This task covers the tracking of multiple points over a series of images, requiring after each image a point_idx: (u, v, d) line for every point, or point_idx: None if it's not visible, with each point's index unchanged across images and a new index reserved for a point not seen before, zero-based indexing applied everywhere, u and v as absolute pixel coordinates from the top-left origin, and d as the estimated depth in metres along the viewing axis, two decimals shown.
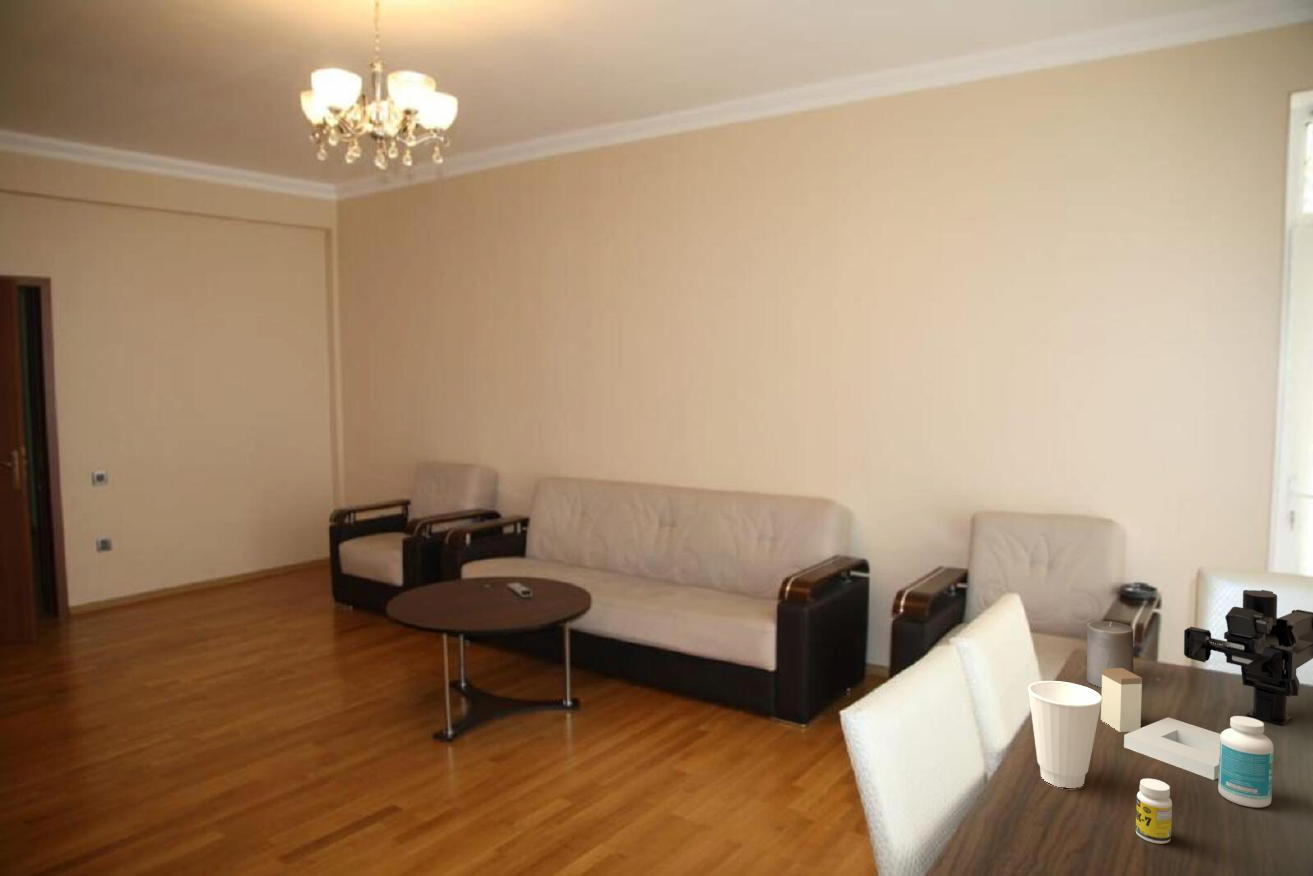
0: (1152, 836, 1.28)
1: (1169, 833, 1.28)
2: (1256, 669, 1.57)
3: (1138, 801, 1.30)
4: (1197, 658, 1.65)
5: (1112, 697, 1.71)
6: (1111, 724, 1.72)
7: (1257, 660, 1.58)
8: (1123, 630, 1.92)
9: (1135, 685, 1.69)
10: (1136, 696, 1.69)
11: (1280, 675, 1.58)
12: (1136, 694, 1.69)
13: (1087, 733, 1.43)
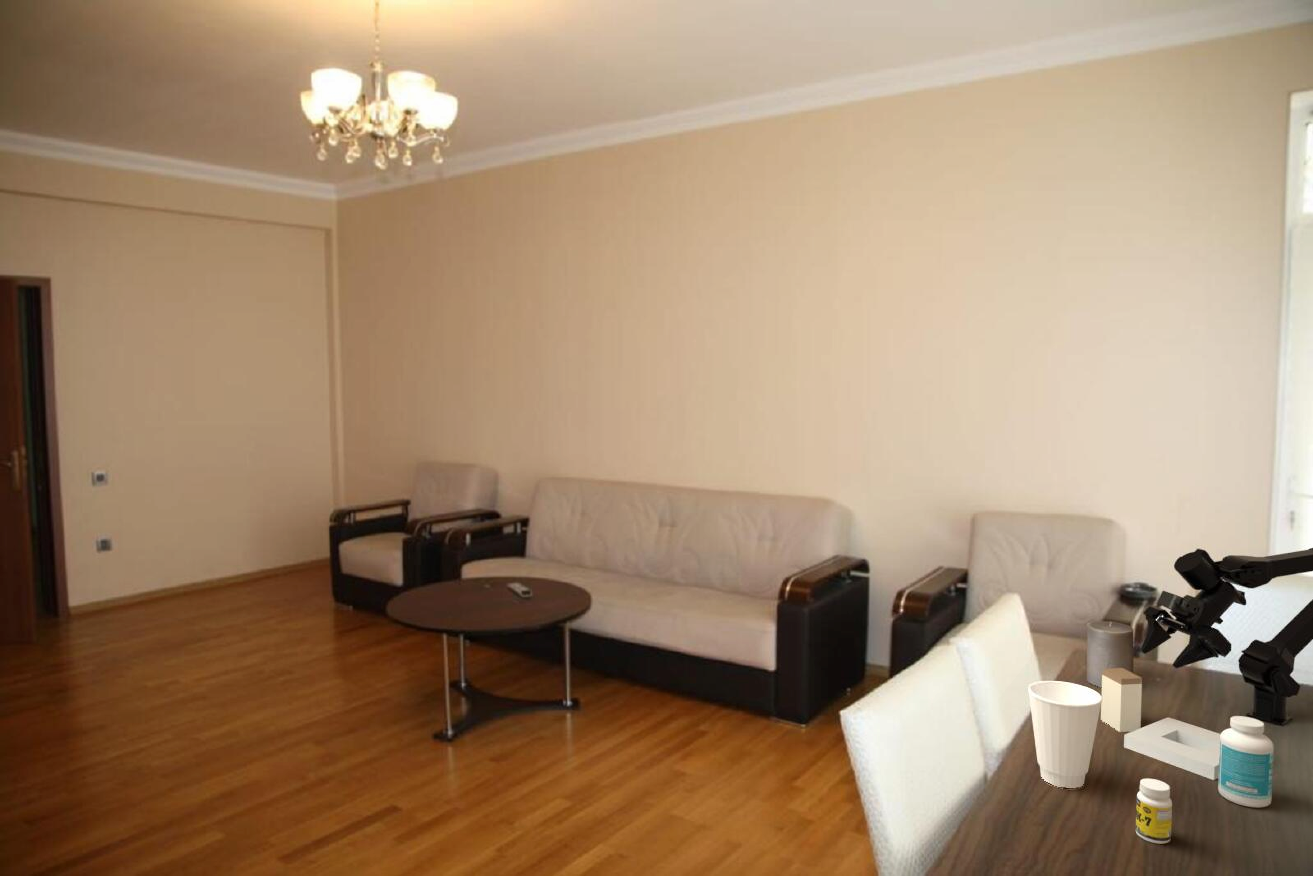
0: (1152, 836, 1.28)
1: (1169, 833, 1.28)
2: (1185, 661, 1.67)
3: (1138, 801, 1.30)
4: (1150, 649, 1.77)
5: (1112, 697, 1.71)
6: (1111, 724, 1.72)
7: (1184, 651, 1.67)
8: (1123, 630, 1.92)
9: (1135, 685, 1.69)
10: (1136, 696, 1.69)
11: (1214, 654, 1.65)
12: (1136, 694, 1.69)
13: (1087, 733, 1.43)
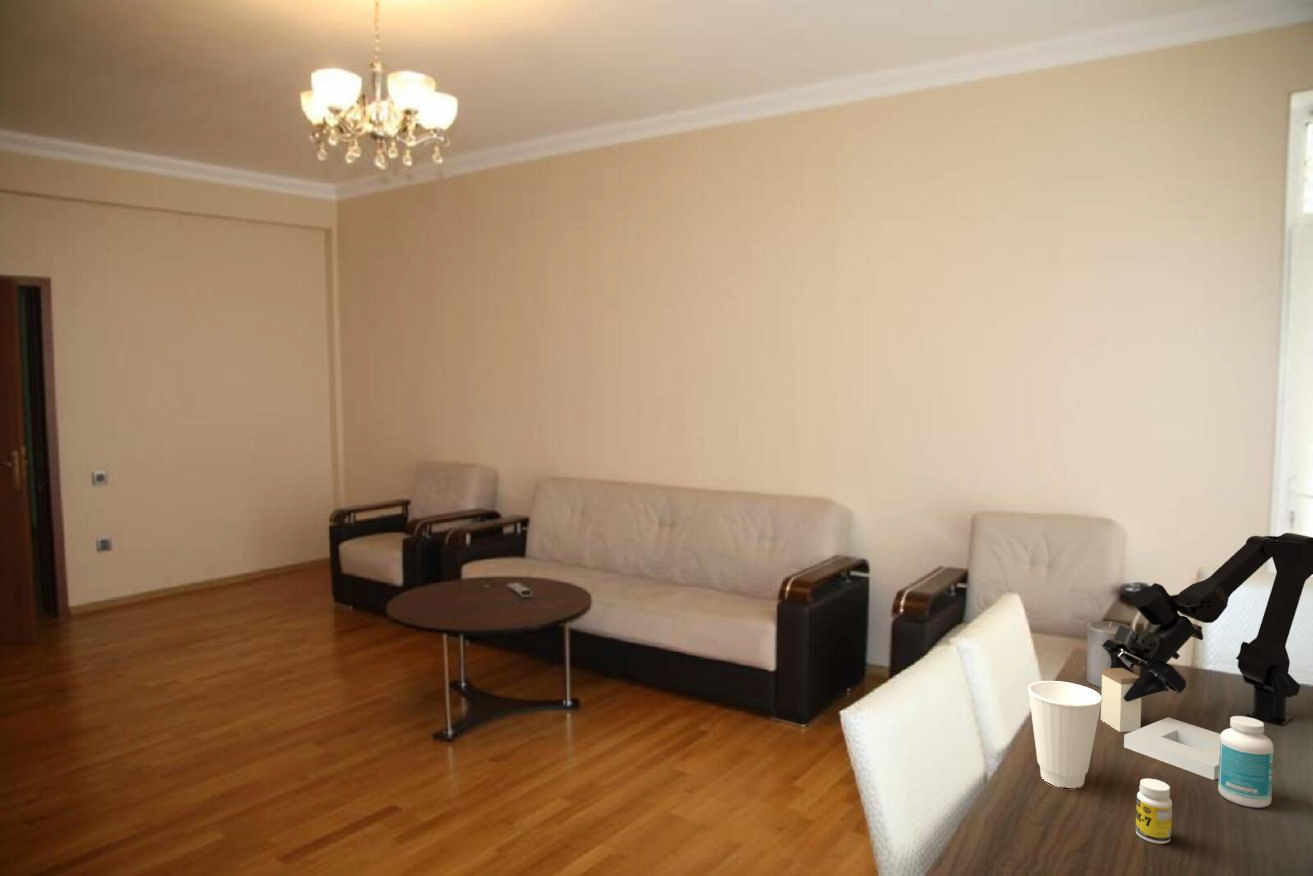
0: (1152, 836, 1.28)
1: (1169, 833, 1.28)
2: (1136, 694, 1.68)
3: (1138, 801, 1.30)
4: None
5: (1112, 697, 1.71)
6: (1111, 724, 1.72)
7: (1134, 685, 1.68)
8: None
9: None
10: None
11: (1163, 688, 1.66)
12: None
13: (1087, 733, 1.43)
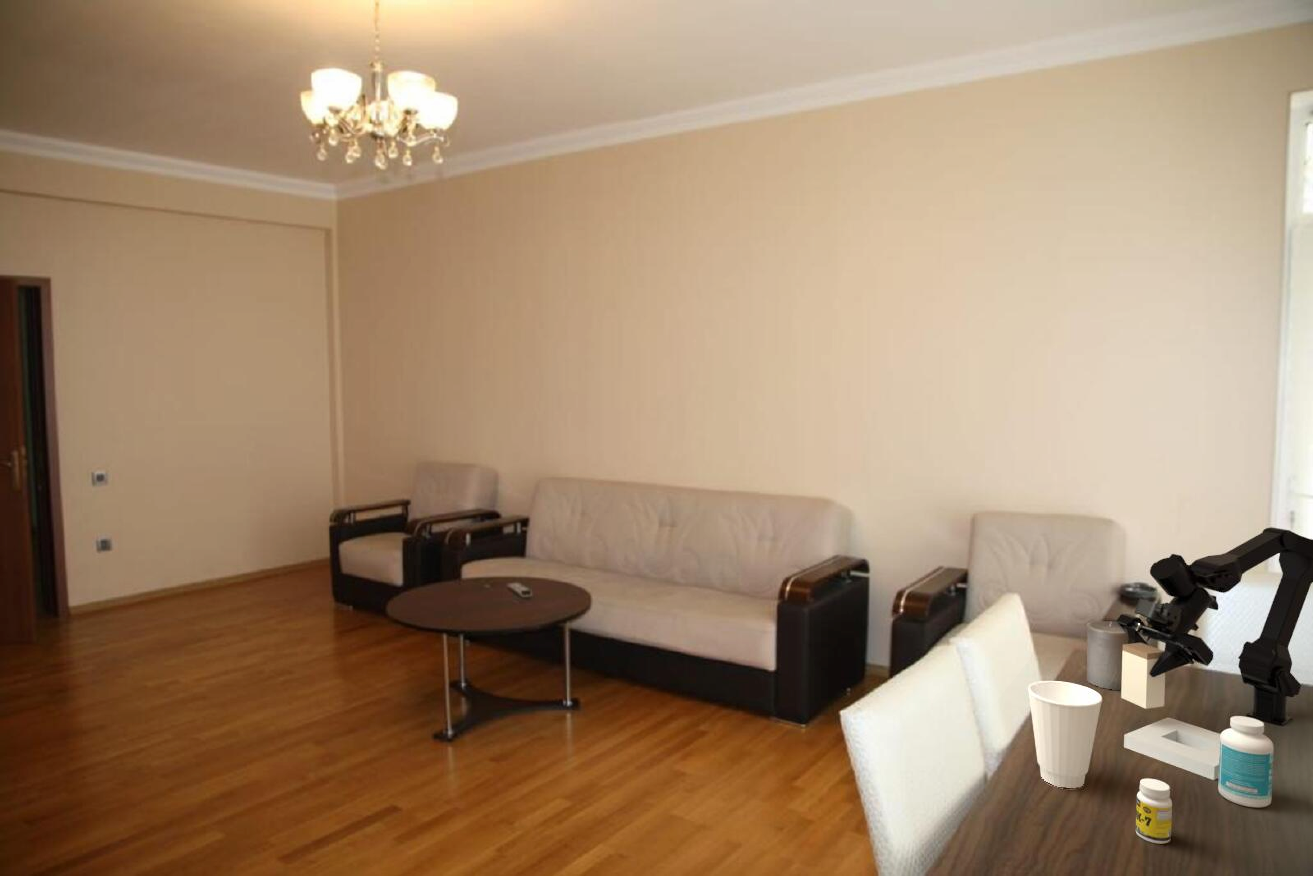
0: (1152, 836, 1.28)
1: (1169, 833, 1.28)
2: (1161, 669, 1.63)
3: (1138, 801, 1.30)
4: None
5: (1135, 673, 1.66)
6: (1135, 701, 1.66)
7: (1160, 659, 1.63)
8: None
9: None
10: None
11: (1190, 661, 1.61)
12: None
13: (1087, 733, 1.43)
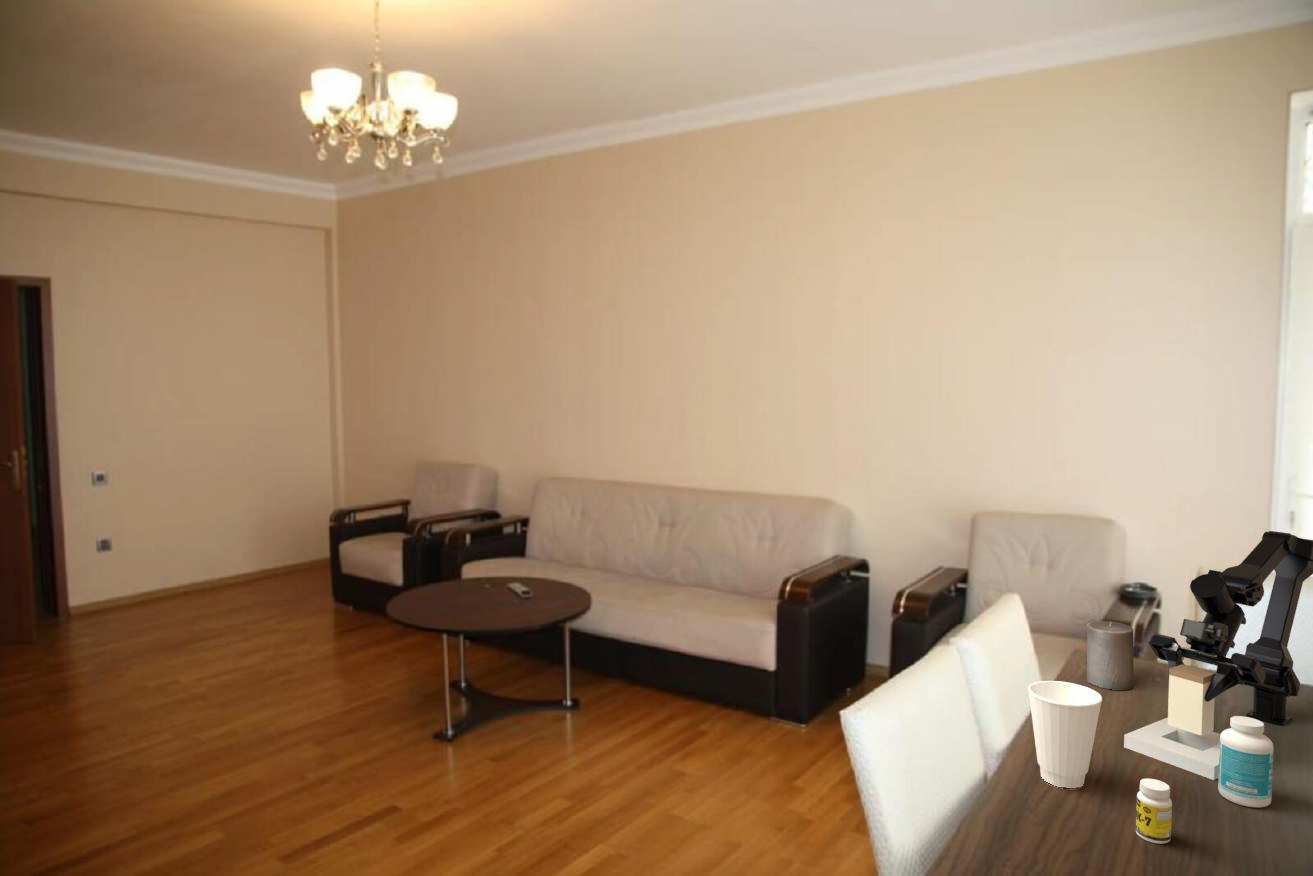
0: (1152, 836, 1.28)
1: (1169, 833, 1.28)
2: (1215, 692, 1.55)
3: (1138, 801, 1.30)
4: None
5: (1187, 699, 1.57)
6: (1186, 728, 1.57)
7: (1213, 683, 1.55)
8: (1123, 630, 1.92)
9: None
10: None
11: (1241, 682, 1.55)
12: None
13: (1087, 733, 1.43)
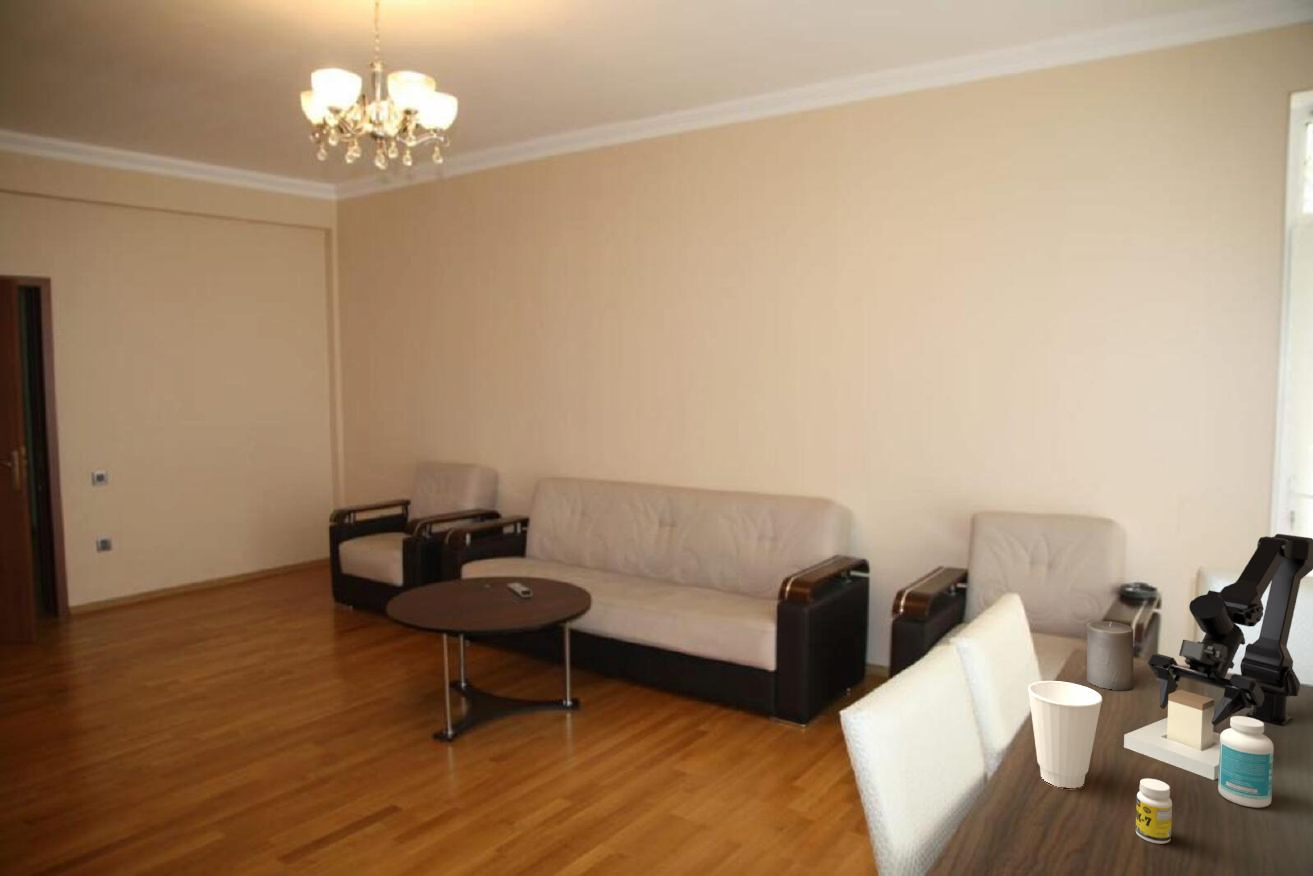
0: (1152, 836, 1.28)
1: (1169, 833, 1.28)
2: (1223, 716, 1.54)
3: (1138, 801, 1.30)
4: (1166, 703, 1.63)
5: (1186, 725, 1.57)
6: None
7: (1221, 706, 1.54)
8: (1123, 630, 1.92)
9: (1210, 708, 1.57)
10: (1210, 720, 1.57)
11: (1248, 705, 1.54)
12: (1210, 718, 1.57)
13: (1087, 733, 1.43)
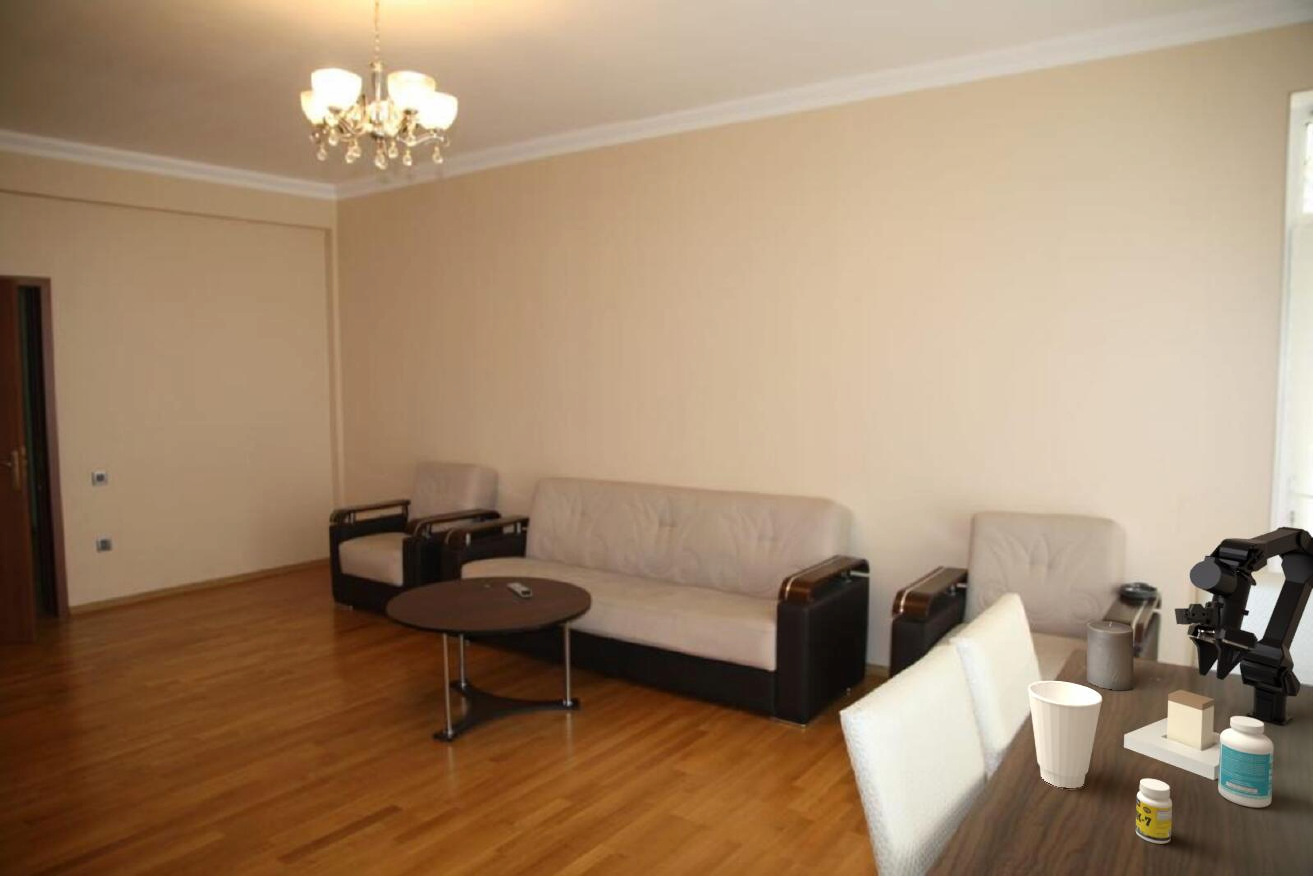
0: (1152, 836, 1.28)
1: (1169, 833, 1.28)
2: (1225, 669, 1.61)
3: (1138, 801, 1.30)
4: (1208, 668, 1.70)
5: (1186, 725, 1.57)
6: None
7: (1218, 660, 1.61)
8: (1123, 630, 1.92)
9: (1210, 708, 1.57)
10: (1210, 720, 1.57)
11: (1244, 650, 1.58)
12: (1210, 718, 1.57)
13: (1087, 733, 1.43)
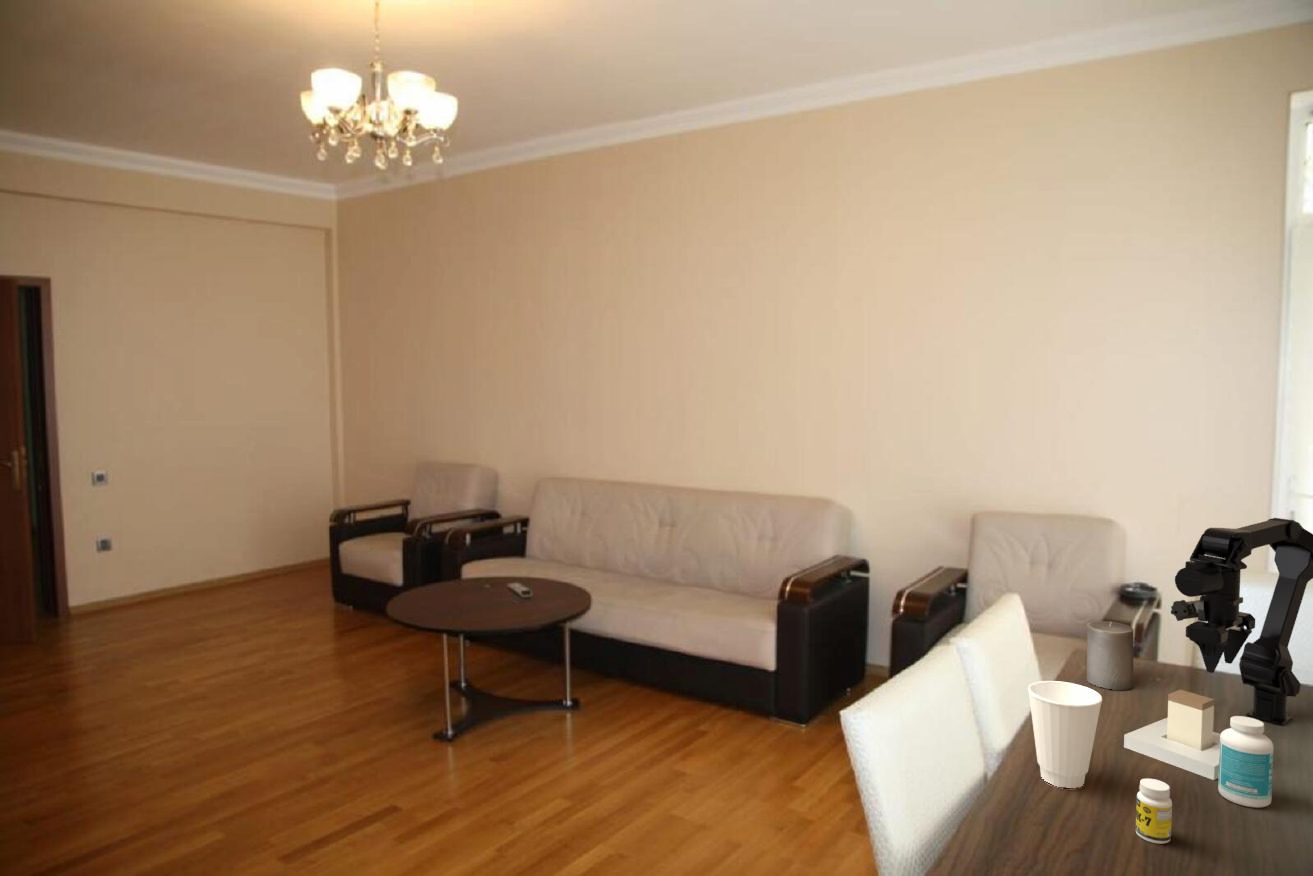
0: (1152, 836, 1.28)
1: (1169, 833, 1.28)
2: (1210, 662, 1.65)
3: (1138, 801, 1.30)
4: (1232, 656, 1.71)
5: (1186, 725, 1.57)
6: None
7: None
8: (1123, 630, 1.92)
9: (1210, 708, 1.57)
10: (1210, 720, 1.57)
11: None
12: (1210, 718, 1.57)
13: (1087, 733, 1.43)
